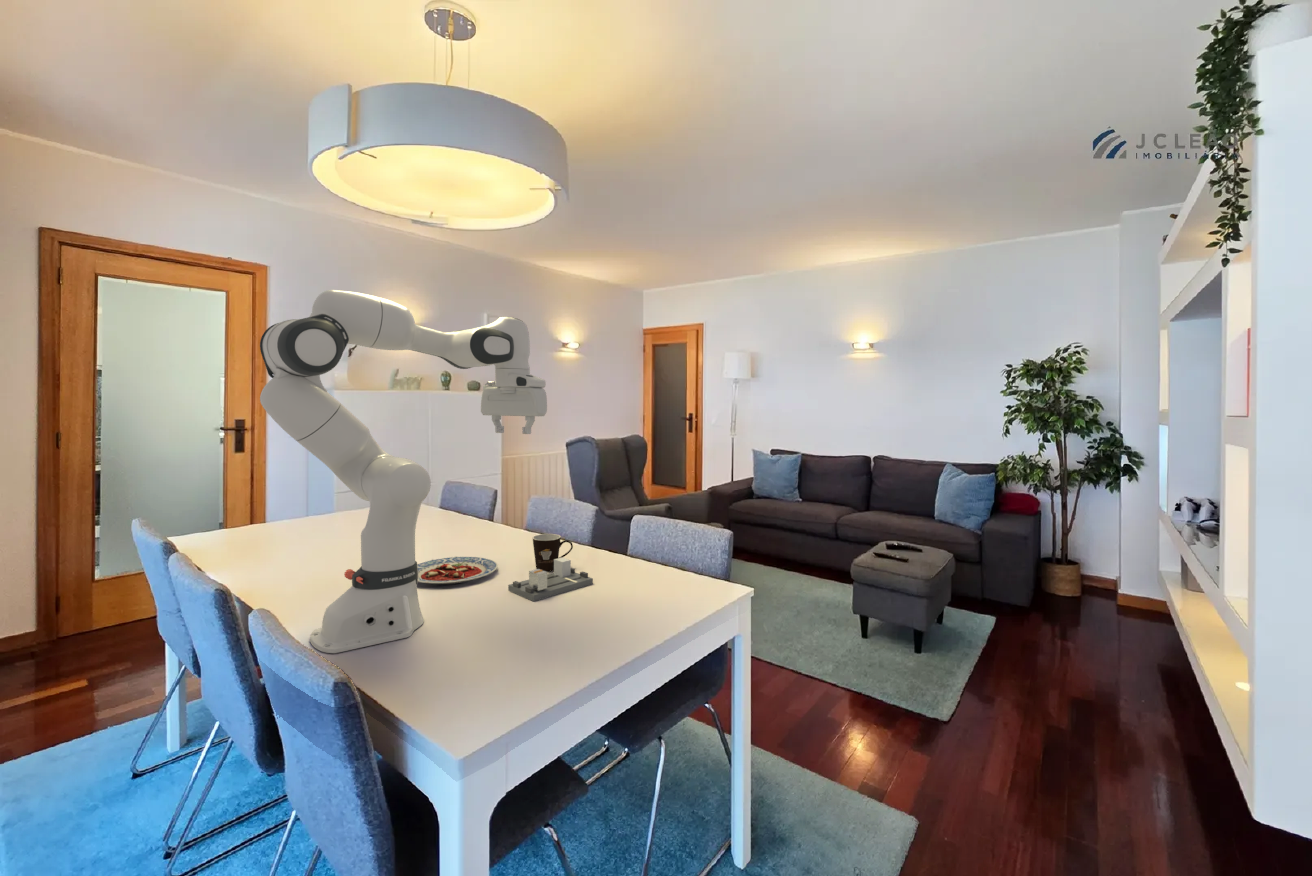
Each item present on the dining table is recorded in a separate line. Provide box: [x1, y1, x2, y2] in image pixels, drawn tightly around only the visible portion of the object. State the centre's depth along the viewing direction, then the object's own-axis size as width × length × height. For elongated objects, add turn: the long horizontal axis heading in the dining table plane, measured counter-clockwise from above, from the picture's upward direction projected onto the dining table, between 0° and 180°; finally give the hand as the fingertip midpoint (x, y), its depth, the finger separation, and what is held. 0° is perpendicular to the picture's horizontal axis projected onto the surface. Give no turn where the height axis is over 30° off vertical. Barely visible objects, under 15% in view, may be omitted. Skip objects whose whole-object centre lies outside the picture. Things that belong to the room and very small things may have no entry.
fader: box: [528, 568, 548, 591], centre depth 146 cm, size 3×4×5 cm
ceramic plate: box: [417, 556, 499, 585], centre depth 163 cm, size 26×26×3 cm
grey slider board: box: [507, 557, 594, 602], centre depth 153 cm, size 20×12×6 cm, turn 137°
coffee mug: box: [532, 533, 574, 573], centre depth 169 cm, size 12×9×10 cm
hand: (513, 433), depth 144 cm, fingers open, 8 cm apart
